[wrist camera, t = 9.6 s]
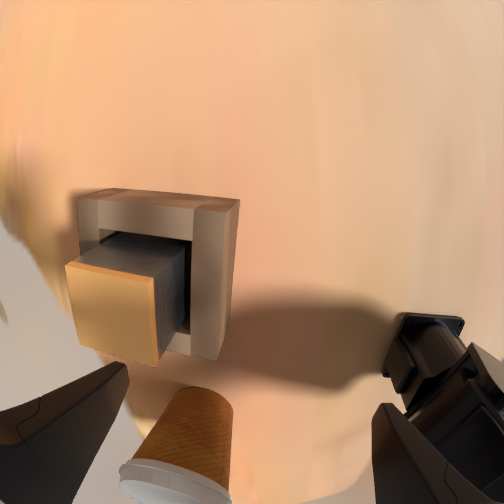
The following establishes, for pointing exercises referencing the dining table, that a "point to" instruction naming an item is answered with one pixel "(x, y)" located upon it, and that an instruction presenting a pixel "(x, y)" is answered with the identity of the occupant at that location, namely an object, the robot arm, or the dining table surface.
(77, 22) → the dining table surface
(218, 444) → the disposable coffee cup
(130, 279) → the steel peg
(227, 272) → the socket block
